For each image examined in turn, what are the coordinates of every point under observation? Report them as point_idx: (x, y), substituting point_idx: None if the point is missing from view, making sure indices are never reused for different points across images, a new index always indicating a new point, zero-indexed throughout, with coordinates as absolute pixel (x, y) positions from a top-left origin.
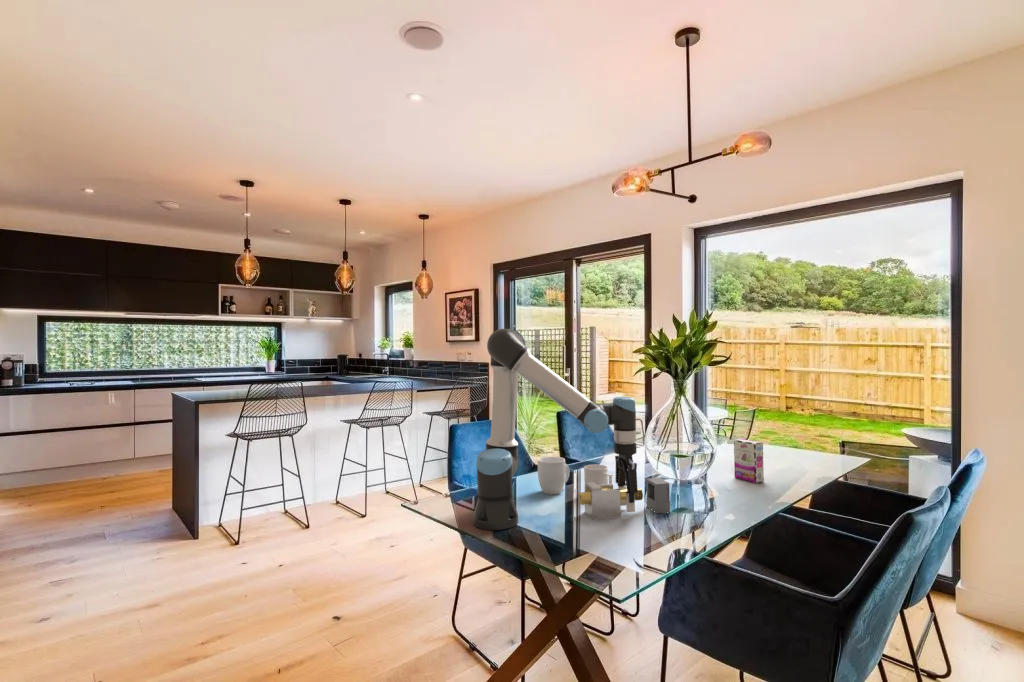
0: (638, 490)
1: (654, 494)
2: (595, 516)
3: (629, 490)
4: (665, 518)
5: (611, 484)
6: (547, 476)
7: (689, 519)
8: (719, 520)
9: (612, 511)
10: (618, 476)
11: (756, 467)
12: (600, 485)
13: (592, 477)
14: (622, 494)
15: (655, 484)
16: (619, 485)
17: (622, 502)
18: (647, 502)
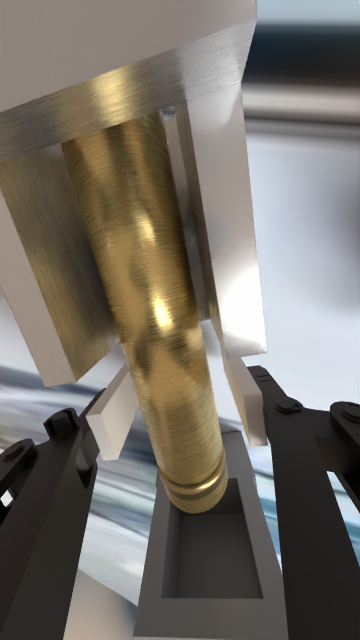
0: (169, 489)
1: (167, 522)
2: None
3: (12, 452)
4: (122, 449)
5: (242, 345)
6: None
7: (117, 497)
8: (113, 546)
9: None
10: (333, 519)
11: None
12: (212, 196)
13: None
14: (132, 381)
15: (138, 628)
16: (268, 411)
17: (224, 359)
18: (237, 449)
